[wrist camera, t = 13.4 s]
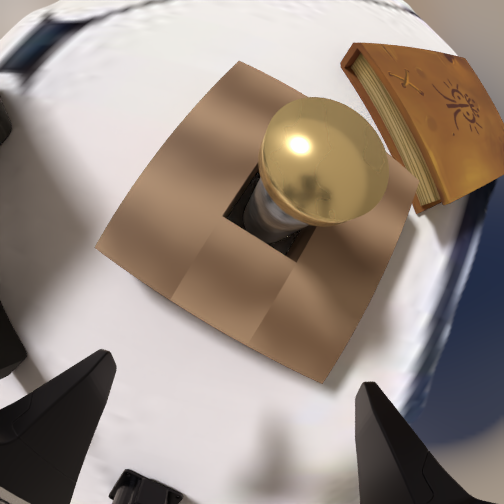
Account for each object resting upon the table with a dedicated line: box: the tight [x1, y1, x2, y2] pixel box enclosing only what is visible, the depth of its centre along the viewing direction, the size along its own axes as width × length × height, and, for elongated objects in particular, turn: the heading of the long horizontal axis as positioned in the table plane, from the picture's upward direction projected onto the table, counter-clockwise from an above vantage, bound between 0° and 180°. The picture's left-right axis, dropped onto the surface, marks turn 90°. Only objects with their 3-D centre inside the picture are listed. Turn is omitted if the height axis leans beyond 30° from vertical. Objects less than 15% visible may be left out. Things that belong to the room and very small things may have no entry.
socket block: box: [95, 61, 419, 384], centre depth 20 cm, size 18×18×4 cm
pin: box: [243, 97, 389, 243], centre depth 16 cm, size 5×5×13 cm
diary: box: [341, 43, 504, 214], centre depth 24 cm, size 23×19×6 cm
